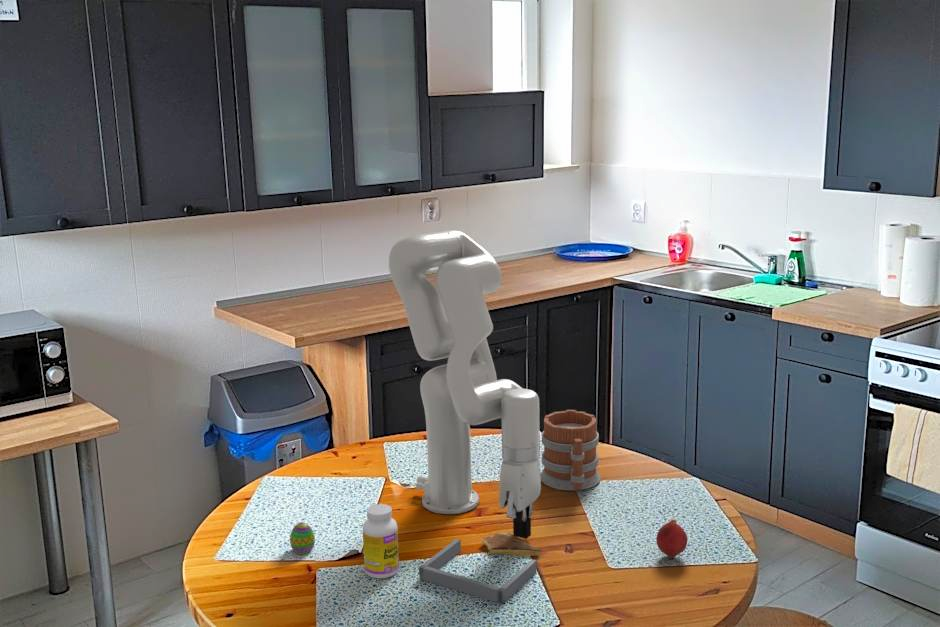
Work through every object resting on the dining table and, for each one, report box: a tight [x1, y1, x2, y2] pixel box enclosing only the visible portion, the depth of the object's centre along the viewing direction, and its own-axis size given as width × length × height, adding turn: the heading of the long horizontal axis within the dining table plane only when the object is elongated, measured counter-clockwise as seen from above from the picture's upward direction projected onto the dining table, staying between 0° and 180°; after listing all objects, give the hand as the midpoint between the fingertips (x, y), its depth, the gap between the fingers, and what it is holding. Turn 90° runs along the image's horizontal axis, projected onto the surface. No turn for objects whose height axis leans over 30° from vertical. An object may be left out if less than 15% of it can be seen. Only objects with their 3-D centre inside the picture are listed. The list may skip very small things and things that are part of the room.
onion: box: [655, 518, 688, 559], centre depth 185 cm, size 6×6×8 cm
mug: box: [540, 409, 601, 492], centre depth 219 cm, size 14×19×15 cm
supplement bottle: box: [362, 503, 400, 579], centre depth 182 cm, size 7×7×13 cm
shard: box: [480, 532, 541, 557], centre depth 190 cm, size 11×8×2 cm
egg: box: [289, 521, 316, 555], centre depth 192 cm, size 5×5×6 cm
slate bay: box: [418, 538, 538, 605], centre depth 181 cm, size 18×13×2 cm
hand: (522, 535), depth 195 cm, fingers closed
